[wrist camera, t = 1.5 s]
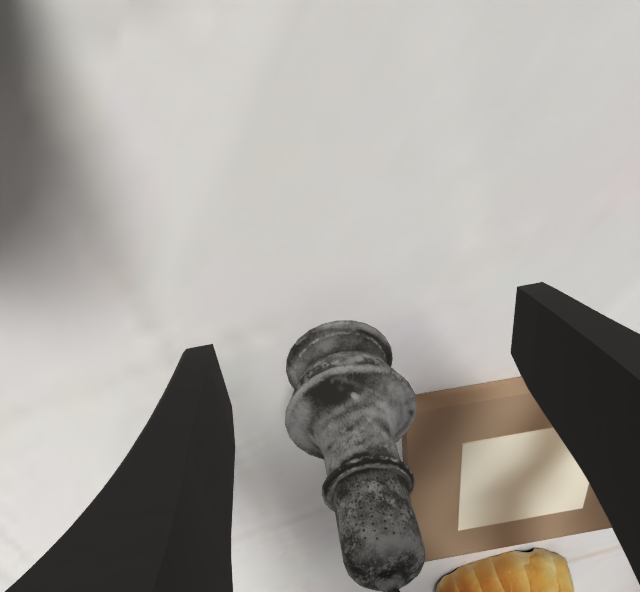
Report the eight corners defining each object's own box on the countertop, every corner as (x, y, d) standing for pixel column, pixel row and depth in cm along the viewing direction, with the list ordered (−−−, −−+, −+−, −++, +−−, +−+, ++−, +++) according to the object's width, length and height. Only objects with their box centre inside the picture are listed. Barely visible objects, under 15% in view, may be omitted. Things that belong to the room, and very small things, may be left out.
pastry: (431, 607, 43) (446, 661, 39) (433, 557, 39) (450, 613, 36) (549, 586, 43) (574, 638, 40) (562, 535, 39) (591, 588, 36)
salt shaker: (362, 417, 30) (425, 663, 20) (261, 390, 28) (274, 647, 18) (419, 336, 27) (525, 572, 17) (312, 299, 25) (360, 542, 15)
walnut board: (656, 353, 30) (671, 369, 29) (608, 510, 38) (619, 527, 37) (400, 397, 29) (406, 415, 28) (406, 547, 37) (411, 565, 36)
